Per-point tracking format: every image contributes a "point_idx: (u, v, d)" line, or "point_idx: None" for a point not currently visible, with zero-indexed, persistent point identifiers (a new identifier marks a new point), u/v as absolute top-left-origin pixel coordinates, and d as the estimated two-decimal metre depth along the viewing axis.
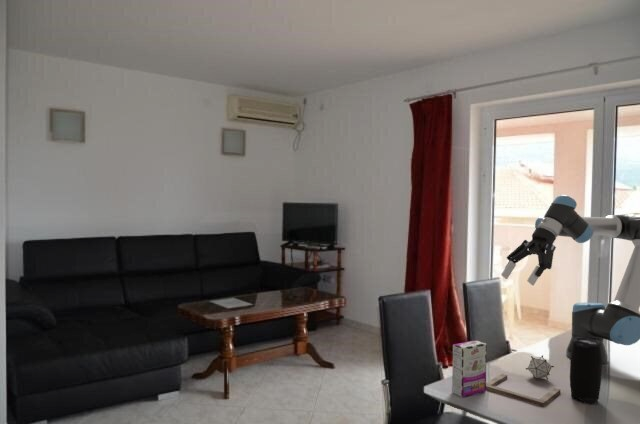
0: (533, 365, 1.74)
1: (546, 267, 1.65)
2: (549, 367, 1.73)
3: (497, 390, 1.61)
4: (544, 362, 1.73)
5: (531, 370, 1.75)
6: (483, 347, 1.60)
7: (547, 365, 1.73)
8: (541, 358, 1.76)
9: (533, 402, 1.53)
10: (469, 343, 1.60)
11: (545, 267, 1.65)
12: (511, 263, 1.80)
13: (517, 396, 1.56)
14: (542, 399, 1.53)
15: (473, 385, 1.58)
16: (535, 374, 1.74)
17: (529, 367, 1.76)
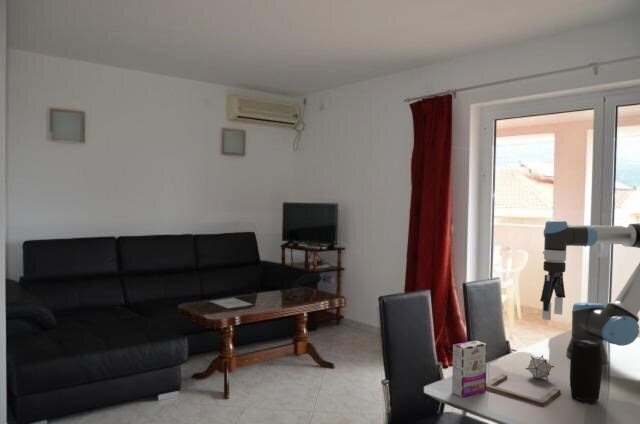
0: (533, 365, 1.74)
1: (545, 301, 1.76)
2: (549, 367, 1.73)
3: (497, 390, 1.61)
4: (544, 362, 1.73)
5: (531, 370, 1.75)
6: (483, 347, 1.60)
7: (547, 365, 1.73)
8: (541, 358, 1.76)
9: (533, 402, 1.53)
10: (469, 343, 1.60)
11: (544, 301, 1.77)
12: (556, 299, 1.89)
13: (517, 396, 1.56)
14: (542, 399, 1.53)
15: (473, 385, 1.58)
16: (535, 374, 1.74)
17: (529, 367, 1.76)
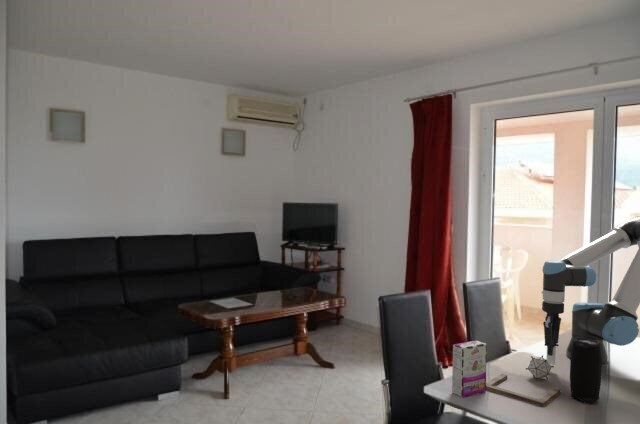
0: (533, 365, 1.74)
1: (549, 346, 1.82)
2: (549, 367, 1.73)
3: (497, 390, 1.61)
4: (544, 362, 1.73)
5: (531, 370, 1.75)
6: (483, 347, 1.60)
7: (547, 365, 1.73)
8: (541, 358, 1.76)
9: (533, 402, 1.53)
10: (469, 343, 1.60)
11: (548, 346, 1.82)
12: None
13: (517, 396, 1.56)
14: (542, 399, 1.53)
15: (473, 385, 1.58)
16: (535, 374, 1.74)
17: (529, 367, 1.76)
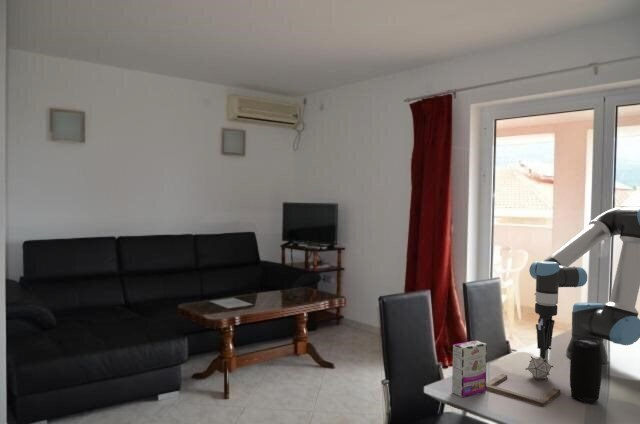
0: (532, 365, 1.74)
1: (541, 349, 1.77)
2: (549, 367, 1.73)
3: (497, 390, 1.61)
4: (544, 362, 1.73)
5: (531, 370, 1.75)
6: (483, 347, 1.60)
7: (547, 365, 1.73)
8: (541, 358, 1.76)
9: (533, 402, 1.53)
10: (469, 343, 1.60)
11: (541, 349, 1.77)
12: None
13: (517, 396, 1.56)
14: (542, 399, 1.53)
15: (473, 385, 1.58)
16: (535, 374, 1.74)
17: (529, 367, 1.75)
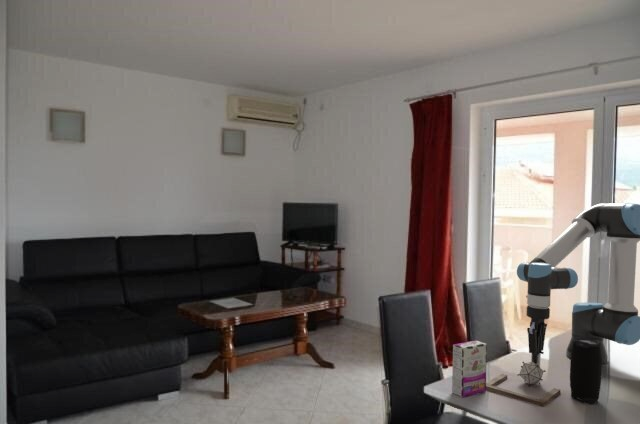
0: (525, 371, 1.68)
1: (533, 353, 1.71)
2: (541, 372, 1.67)
3: (497, 390, 1.61)
4: (536, 367, 1.67)
5: (523, 376, 1.68)
6: (483, 347, 1.60)
7: (539, 370, 1.67)
8: (532, 363, 1.70)
9: (533, 402, 1.53)
10: (469, 343, 1.60)
11: (533, 353, 1.71)
12: None
13: (517, 396, 1.56)
14: (542, 399, 1.53)
15: (473, 385, 1.58)
16: (527, 380, 1.67)
17: (521, 373, 1.69)
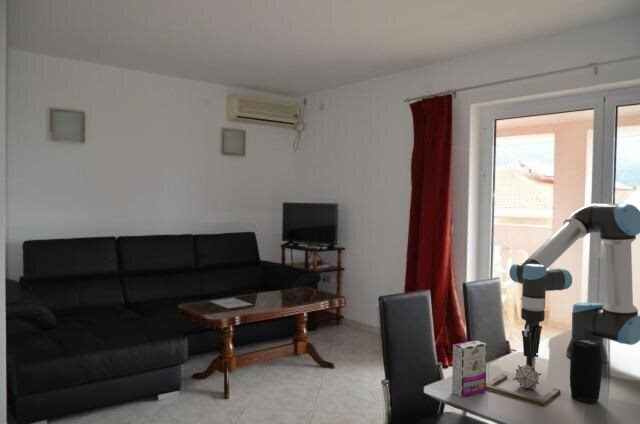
0: (521, 375, 1.64)
1: (528, 356, 1.68)
2: (537, 375, 1.64)
3: (497, 390, 1.61)
4: (532, 371, 1.63)
5: (519, 380, 1.65)
6: (483, 347, 1.60)
7: (535, 373, 1.64)
8: (528, 366, 1.66)
9: (533, 402, 1.53)
10: (469, 343, 1.60)
11: (528, 356, 1.68)
12: None
13: (517, 396, 1.56)
14: (542, 399, 1.53)
15: (473, 385, 1.58)
16: (524, 384, 1.64)
17: (517, 377, 1.65)
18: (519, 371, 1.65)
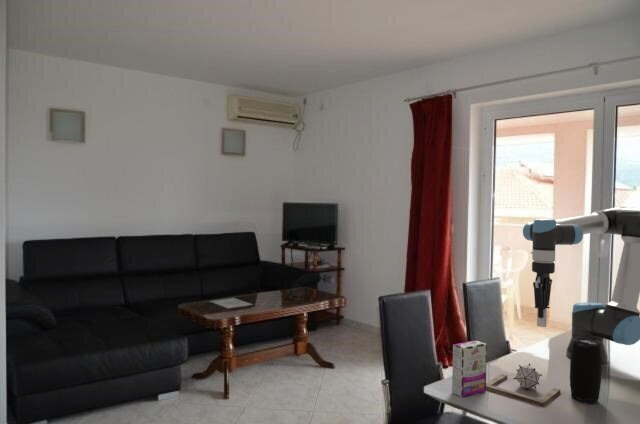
0: (521, 375, 1.64)
1: (539, 308, 1.73)
2: (538, 376, 1.64)
3: (497, 390, 1.61)
4: (533, 371, 1.63)
5: (519, 380, 1.65)
6: (483, 347, 1.60)
7: (536, 374, 1.63)
8: (529, 366, 1.66)
9: (533, 402, 1.53)
10: (469, 343, 1.60)
11: (539, 308, 1.73)
12: None
13: (517, 396, 1.56)
14: (542, 399, 1.53)
15: (473, 385, 1.58)
16: (524, 384, 1.64)
17: (517, 376, 1.65)
18: (520, 371, 1.65)
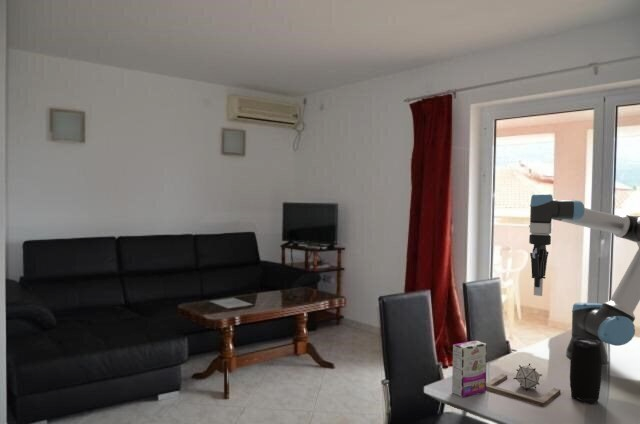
0: (521, 375, 1.64)
1: (535, 277, 1.83)
2: (538, 376, 1.64)
3: (497, 390, 1.61)
4: (533, 371, 1.63)
5: (519, 380, 1.65)
6: (483, 347, 1.60)
7: (536, 374, 1.63)
8: (529, 366, 1.66)
9: (533, 402, 1.53)
10: (469, 343, 1.60)
11: (535, 277, 1.84)
12: None
13: (517, 396, 1.56)
14: (542, 399, 1.53)
15: (473, 385, 1.58)
16: (524, 384, 1.64)
17: (517, 376, 1.65)
18: (520, 371, 1.65)
